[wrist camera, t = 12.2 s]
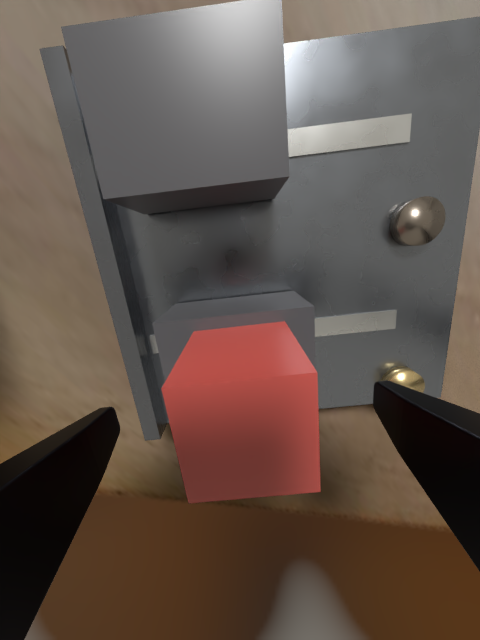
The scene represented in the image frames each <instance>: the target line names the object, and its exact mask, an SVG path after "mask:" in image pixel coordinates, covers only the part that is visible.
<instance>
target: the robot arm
mask: <svg viewBox="0 0 480 640" xmlns="http://www.w3.org/2000/svg"><path fill="white" fill-rule="evenodd" d="M373 406H374V409H375V411H376V413H377V415H378V417H379V419H380V420H381V422H382V424H383V426H384V428H385V429H386V431H387V433H388V435H389V437H390V439H391V440H392V442H393V444H394V446H395V447H396V449H397V451H398V453H399V454H400V456H401V457H402V459H403V460H404V462H405V463H406V465H407V466H408V467H409V469H410V470H411V472H412V473H413V475H414V476H415V478H416V479H417V481H418V482H419V484H420V485H421V486H422V488H423V489H424V491H425V492H426V494H427V495H428V497H429V498H430V500H431V501H432V502H433V504H434V505H435V507H436V508H437V510H438V511H439V513H440V514H441V516H442V517H443V519H444V520H445V521H446V523H447V524H448V526H449V527H450V529H451V530H452V532H453V533H454V535H455V536H456V537H457V539H458V540H459V542H460V543H461V545H462V546H463V548H464V549H465V551H466V552H467V553H468V555H469V556H470V558H471V559H472V561H473V562H474V564H475V565H476V567H477V568H478V570H479V571H480V414H479V413H477V412H474V411H471V410H468V409H466V408H463V407H460V406H457V405H455V404H452V403H449V402H446V401H444V400H441V399H438V398H435V397H433V396H430V395H427V394H424V393H422V392H419V391H416V390H413V389H411V388H408V387H405V386H402V385H400V384H397V383H394V382H391V381H388V380H385V381H377V382H375V384H374V391H373ZM119 433H120V425H119V422H118V418H117V415H116V412H115V409H114V408H113V407H104V408H99V409H98V410H96V411H94V412H92V413H90V414H89V415H87V416H85V417H83V418H81V419H80V420H78V421H76V422H74V423H73V424H71V425H69V426H67V427H65V428H64V429H62V430H60V431H58V432H56V433H55V434H53V435H51V436H49V437H48V438H46V439H44V440H42V441H40V442H39V443H37V444H35V445H33V446H31V447H30V448H28V449H26V450H24V451H23V452H21V453H19V454H17V455H15V456H14V457H12V458H10V459H8V460H7V461H5V462H3V463H1V464H0V640H24V639H25V637H26V635H27V632H28V631H29V628H30V627H31V624H32V622H33V620H34V618H35V616H36V614H37V612H38V610H39V608H40V606H41V604H42V602H43V600H44V598H45V596H46V593H47V592H48V589H49V587H50V585H51V583H52V581H53V579H54V577H55V575H56V573H57V571H58V569H59V566H60V565H61V563H62V561H63V559H64V557H65V554H66V552H67V550H68V548H69V546H70V544H71V542H72V540H73V538H74V536H75V534H76V532H77V530H78V528H79V526H80V524H81V521H82V519H83V517H84V515H85V513H86V511H87V509H88V507H89V505H90V503H91V501H92V499H93V497H94V495H95V493H96V491H97V489H98V486H99V484H100V482H101V480H102V478H103V475H104V473H105V470H106V468H107V465H108V462H109V460H110V457H111V455H112V452H113V449H114V447H115V444H116V441H117V439H118V436H119Z"/></svg>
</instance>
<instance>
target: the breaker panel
mask: <svg viewBox="0 0 480 640" xmlns="http://www.w3.org/2000/svg"><path fill="white" fill-rule="evenodd" d="M40 53H41V57H42V60H43V64H44V68H45V71H46V75H47V79H48V83H49V86H50V90H51V94H52V97H53V101H54V105H55V108H56V112H57V116H58V120H59V123H60V127H61V131H62V134H63V138H64V142H65V145H66V149H67V153H68V157H69V160H70V164H71V168H72V171H73V175H74V179H75V182H76V186H77V190H78V194H79V197H80V201H81V205H82V208H83V212H84V216H85V220H86V223H87V227H88V231H89V234H90V238H91V242H92V245H93V249H94V253H95V257H96V260H97V264H98V268H99V271H100V275H101V279H102V282H103V286H104V290H105V294H106V297H107V301H108V305H109V308H110V312H111V316H112V319H113V323H114V327H115V331H116V334H117V338H118V342H119V345H120V349H121V353H122V356H123V360H124V364H125V368H126V371H127V375H128V379H129V382H130V386H131V390H132V394H133V397H134V401H135V405H136V408H137V412H138V416H139V419H140V423H141V427H142V431H143V434H144V438H145V440H156V439H161V436H162V434H163V432H164V429H165V427H166V424H167V423H169V419H168V415H167V410H166V406H165V402H164V398H163V393H162V389H161V388H162V386H163V385H164V383H165V379H164V374H163V370H162V365H161V361H160V356H159V352H158V347H157V343H156V338H155V334H154V329H153V325H152V323H153V322H154V321H156V320H157V319H158V318H159V317H160V316H162V315H163V314H164V313H165V312H166V311H168V310H169V309H170V308H171V307H172V306H174V305H175V304H177V303H186V302H195V301H204V300H213V299H223V298H232V297H241V296H250V295H260V294H269V293H278V292H287V291H295V292H296V293H297V294H299V295H300V296H301V297H303V298H304V299H305V300H307V301H308V302H309V303H311V304H312V305H313V306H314V317H315V361H316V371H317V377H318V409H322V408H333V407H343V406H354V405H365V404H373V391H374V384H375V382H377V381H385V380H388V381H391V382H394V383H397V384H400V385H402V386H405V387H408V388H411V389H413V390H416V391H419V392H422V393H424V394H427V395H430V396H433V397H435V398H439V397H441V391H442V384H443V377H444V370H445V364H446V357H447V350H448V343H449V336H450V329H451V322H452V315H453V308H454V301H455V294H456V288H457V281H458V274H459V267H460V260H461V253H462V246H463V239H464V232H465V225H466V218H467V212H468V205H469V198H470V191H471V184H472V177H473V170H474V163H475V156H476V149H477V142H478V136H479V129H480V17H473V18H466V19H459V20H452V21H444V22H437V23H430V24H423V25H416V26H408V27H401V28H394V29H387V30H380V31H372V32H365V33H358V34H351V35H344V36H337V37H329V38H322V39H315V40H308V41H301V42H293V43H286V44H284V65H285V86H286V108H287V130H288V152H289V174H290V177H289V178H288V180H287V181H286V182H285V184H284V185H283V187H282V188H281V190H280V191H279V193H278V194H277V196H276V197H275V199H268V200H260V201H252V202H243V203H235V204H227V205H219V206H210V207H202V208H194V209H185V210H177V211H169V212H160V213H152V214H142V213H139V212H136V211H134V210H131V209H128V208H125V207H123V206H120V205H117V204H115V203H112V202H109V201H107V200H104V199H103V196H102V192H101V188H100V183H99V179H98V175H97V171H96V167H95V163H94V159H93V155H92V151H91V147H90V143H89V139H88V135H87V130H86V126H85V122H84V118H83V114H82V110H81V106H80V102H79V98H78V94H77V90H76V86H75V82H74V77H73V73H72V69H71V65H70V61H69V57H68V53H67V50H66V49H65V48H64V46H56V47H49V48H42V49H40Z"/></svg>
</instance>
